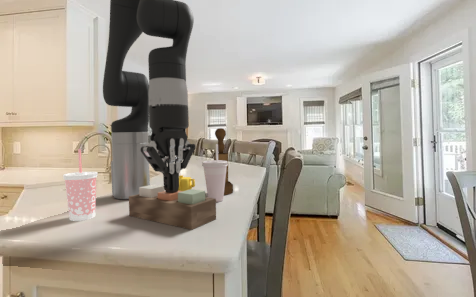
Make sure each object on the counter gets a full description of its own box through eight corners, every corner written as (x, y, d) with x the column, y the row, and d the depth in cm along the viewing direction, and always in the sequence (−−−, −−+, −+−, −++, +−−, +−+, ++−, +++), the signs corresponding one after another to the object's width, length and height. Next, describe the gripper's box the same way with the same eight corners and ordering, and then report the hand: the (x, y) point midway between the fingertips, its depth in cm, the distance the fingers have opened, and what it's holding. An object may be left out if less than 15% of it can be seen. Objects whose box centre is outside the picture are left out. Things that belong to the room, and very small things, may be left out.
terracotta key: (158, 207, 56) (157, 192, 56) (171, 203, 59) (170, 189, 59) (171, 210, 54) (170, 194, 54) (184, 206, 57) (183, 191, 57)
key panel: (129, 215, 59) (128, 196, 58) (155, 207, 64) (155, 190, 64) (191, 229, 49) (191, 206, 49) (216, 219, 55) (215, 198, 55)
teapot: (162, 196, 76) (162, 177, 76) (169, 192, 82) (168, 174, 82) (192, 196, 76) (191, 177, 75) (196, 192, 81) (196, 174, 81)
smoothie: (225, 203, 67) (224, 144, 66) (199, 202, 68) (197, 144, 68) (231, 197, 73) (230, 143, 73) (207, 196, 75) (206, 143, 74)
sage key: (178, 208, 53) (177, 192, 53) (191, 204, 56) (190, 189, 56) (192, 211, 51) (192, 194, 51) (205, 206, 54) (205, 191, 54)
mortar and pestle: (232, 195, 76) (231, 127, 76) (208, 195, 77) (207, 128, 76) (233, 190, 83) (232, 128, 82) (211, 190, 83) (209, 128, 82)
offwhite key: (139, 201, 59) (139, 187, 59) (153, 198, 62) (152, 184, 62) (151, 203, 57) (150, 188, 57) (164, 200, 60) (164, 185, 60)
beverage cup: (82, 223, 54) (79, 149, 53) (57, 220, 56) (53, 149, 55) (106, 214, 60) (103, 147, 59) (82, 212, 62) (79, 147, 61)
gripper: (178, 108, 63) (181, 185, 64) (127, 103, 52) (131, 196, 53) (205, 105, 59) (207, 188, 60) (155, 99, 48) (159, 201, 49)
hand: (171, 192), depth 57 cm, fingers closed
